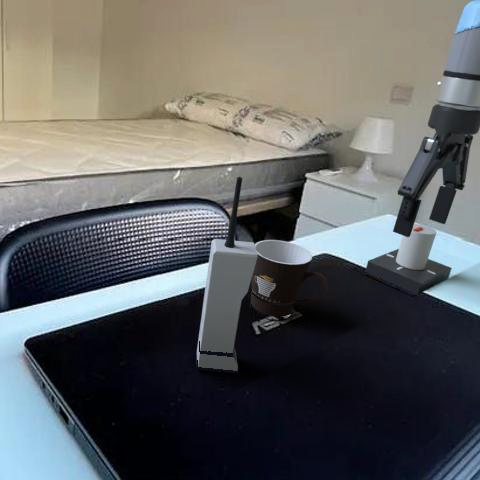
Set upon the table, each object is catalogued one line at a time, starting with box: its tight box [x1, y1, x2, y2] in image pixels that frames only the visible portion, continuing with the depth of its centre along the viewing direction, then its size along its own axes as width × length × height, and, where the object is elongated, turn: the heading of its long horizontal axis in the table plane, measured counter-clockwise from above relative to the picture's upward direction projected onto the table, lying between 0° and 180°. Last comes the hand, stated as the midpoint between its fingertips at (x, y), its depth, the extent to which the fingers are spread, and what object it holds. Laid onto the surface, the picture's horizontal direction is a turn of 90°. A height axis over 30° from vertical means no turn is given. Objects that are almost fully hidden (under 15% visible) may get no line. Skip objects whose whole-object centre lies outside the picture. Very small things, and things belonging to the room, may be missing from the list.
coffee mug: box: [250, 239, 330, 316], centre depth 75 cm, size 12×9×10 cm
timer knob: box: [396, 223, 437, 270], centre depth 90 cm, size 5×5×7 cm
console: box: [364, 248, 453, 296], centre depth 92 cm, size 10×12×3 cm
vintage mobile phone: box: [196, 176, 258, 372], centre depth 59 cm, size 4×5×25 cm
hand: (419, 227), depth 89 cm, fingers open, 13 cm apart
